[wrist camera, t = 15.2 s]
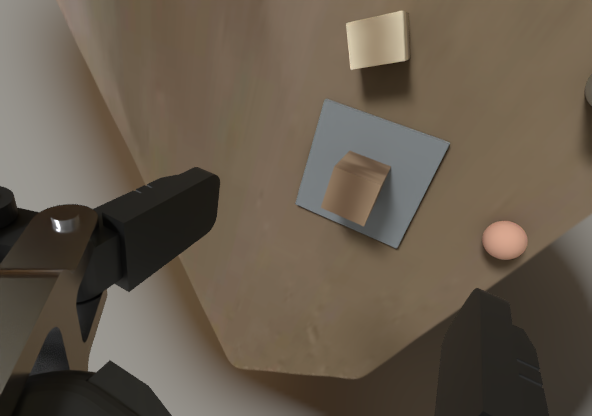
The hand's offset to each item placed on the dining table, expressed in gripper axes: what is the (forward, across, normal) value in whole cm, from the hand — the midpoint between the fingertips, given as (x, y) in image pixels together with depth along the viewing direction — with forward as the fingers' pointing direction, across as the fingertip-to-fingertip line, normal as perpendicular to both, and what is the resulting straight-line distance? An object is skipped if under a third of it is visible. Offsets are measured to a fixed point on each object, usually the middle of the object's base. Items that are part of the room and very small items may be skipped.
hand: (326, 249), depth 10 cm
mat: (+30, +4, +10) cm, 32 cm away
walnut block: (+29, +4, +10) cm, 31 cm away
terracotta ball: (+28, -12, +11) cm, 33 cm away
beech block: (+30, +6, -4) cm, 31 cm away
